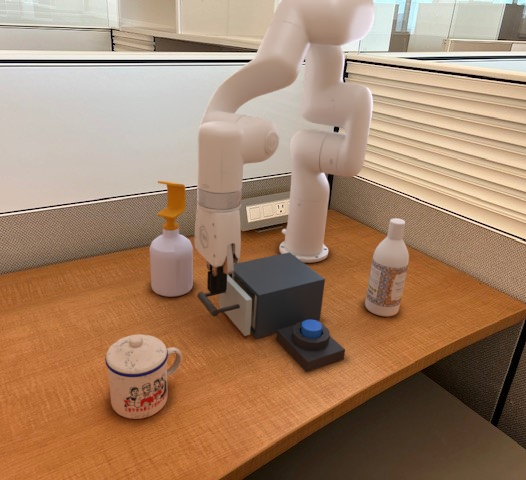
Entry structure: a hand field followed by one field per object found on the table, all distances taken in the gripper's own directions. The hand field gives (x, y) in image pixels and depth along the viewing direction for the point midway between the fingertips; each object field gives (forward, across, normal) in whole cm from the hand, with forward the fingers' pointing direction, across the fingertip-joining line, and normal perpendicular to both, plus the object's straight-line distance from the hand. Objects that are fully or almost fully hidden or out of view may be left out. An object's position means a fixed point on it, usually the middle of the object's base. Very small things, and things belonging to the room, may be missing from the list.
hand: (216, 290), depth 89 cm
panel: (+8, +13, +13) cm, 20 cm away
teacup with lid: (+9, +12, -17) cm, 23 cm away
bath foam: (+8, +8, +35) cm, 37 cm away
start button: (+5, +13, +13) cm, 19 cm away
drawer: (+8, 0, +7) cm, 10 cm away
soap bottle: (+9, -18, -2) cm, 20 cm away
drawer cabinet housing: (+8, 0, +13) cm, 15 cm away
